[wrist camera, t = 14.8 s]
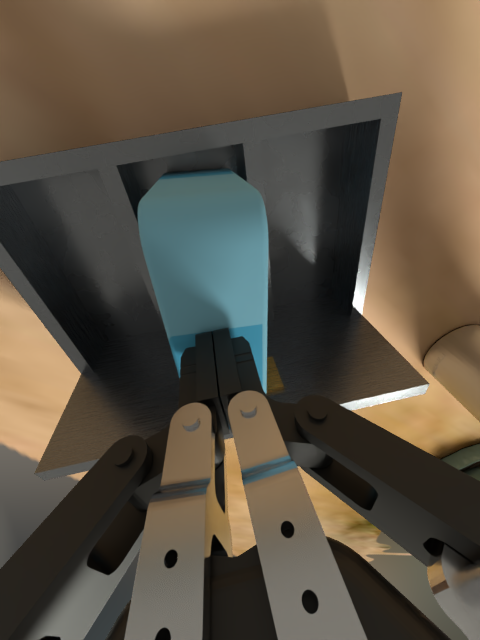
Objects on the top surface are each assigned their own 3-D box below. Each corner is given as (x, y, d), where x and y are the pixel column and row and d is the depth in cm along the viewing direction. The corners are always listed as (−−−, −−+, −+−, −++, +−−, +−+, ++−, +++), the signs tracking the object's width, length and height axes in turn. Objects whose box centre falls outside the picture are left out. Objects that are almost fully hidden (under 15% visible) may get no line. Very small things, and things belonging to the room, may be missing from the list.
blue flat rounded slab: (163, 170, 17) (128, 207, 8) (228, 165, 18) (271, 194, 8) (192, 313, 24) (192, 426, 15) (237, 307, 25) (267, 413, 15)
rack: (350, 104, 18) (590, 47, 7) (332, 294, 28) (424, 393, 17) (-4, 165, 17) (-349, 208, 6) (104, 341, 26) (44, 480, 16)
